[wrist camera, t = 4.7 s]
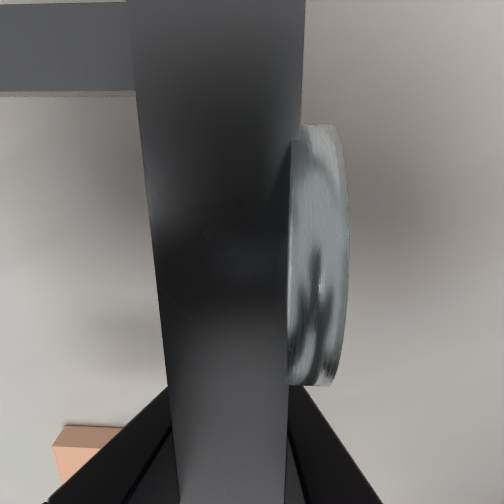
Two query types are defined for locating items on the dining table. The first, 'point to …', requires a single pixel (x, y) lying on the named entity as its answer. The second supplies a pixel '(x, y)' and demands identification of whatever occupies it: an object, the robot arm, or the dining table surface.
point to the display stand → (79, 447)
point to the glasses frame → (216, 210)
